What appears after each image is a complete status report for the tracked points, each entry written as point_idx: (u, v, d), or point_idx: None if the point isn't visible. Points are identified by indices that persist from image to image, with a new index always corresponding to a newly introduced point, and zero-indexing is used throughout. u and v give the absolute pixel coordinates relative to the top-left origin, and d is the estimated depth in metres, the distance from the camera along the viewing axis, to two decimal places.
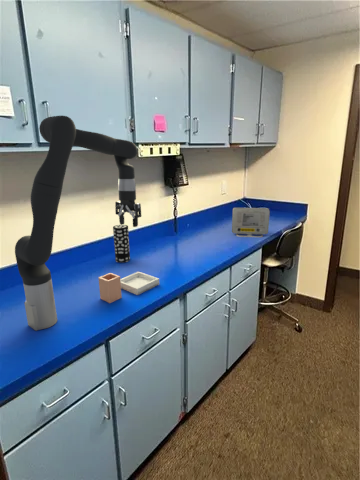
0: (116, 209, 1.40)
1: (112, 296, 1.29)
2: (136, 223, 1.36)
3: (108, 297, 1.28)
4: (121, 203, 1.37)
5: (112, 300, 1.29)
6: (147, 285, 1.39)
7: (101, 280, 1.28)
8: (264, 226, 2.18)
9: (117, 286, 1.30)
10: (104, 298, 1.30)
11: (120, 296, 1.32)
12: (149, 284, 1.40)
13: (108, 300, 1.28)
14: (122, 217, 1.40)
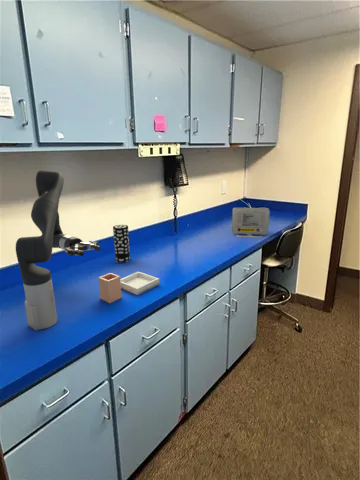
0: (69, 249, 1.33)
1: (112, 296, 1.29)
2: None
3: (108, 297, 1.28)
4: (72, 246, 1.37)
5: (112, 300, 1.29)
6: (147, 285, 1.39)
7: (101, 280, 1.28)
8: (264, 226, 2.18)
9: (117, 286, 1.30)
10: (104, 298, 1.30)
11: (120, 296, 1.32)
12: (149, 284, 1.40)
13: (108, 300, 1.28)
14: None
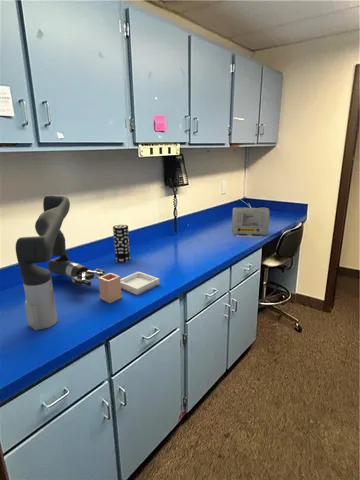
0: (76, 279, 1.34)
1: (112, 296, 1.29)
2: None
3: (108, 297, 1.28)
4: (79, 274, 1.39)
5: (112, 300, 1.29)
6: (147, 285, 1.39)
7: (101, 280, 1.28)
8: (264, 226, 2.18)
9: (117, 286, 1.30)
10: (104, 298, 1.30)
11: (120, 296, 1.32)
12: (149, 284, 1.40)
13: (108, 300, 1.28)
14: None
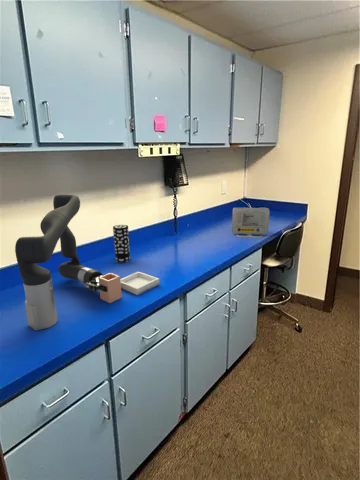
0: (91, 284, 1.29)
1: (112, 296, 1.29)
2: None
3: (108, 297, 1.28)
4: (92, 280, 1.33)
5: (112, 300, 1.29)
6: (147, 285, 1.39)
7: (101, 280, 1.28)
8: (264, 226, 2.18)
9: (117, 286, 1.30)
10: (104, 298, 1.30)
11: (120, 296, 1.32)
12: (149, 284, 1.40)
13: (108, 300, 1.28)
14: None
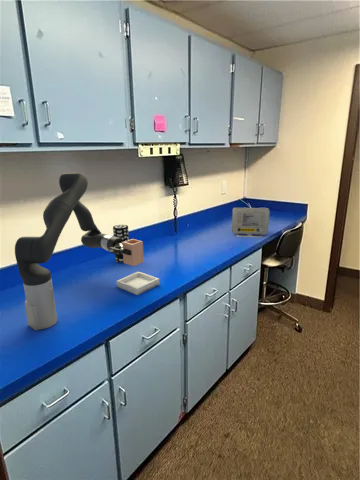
0: (116, 248, 1.36)
1: (135, 260, 1.36)
2: None
3: (132, 260, 1.35)
4: (116, 245, 1.40)
5: (135, 263, 1.36)
6: (147, 285, 1.39)
7: (125, 244, 1.35)
8: (264, 226, 2.18)
9: (140, 250, 1.37)
10: (127, 262, 1.37)
11: (142, 260, 1.40)
12: (149, 284, 1.40)
13: (131, 263, 1.36)
14: None
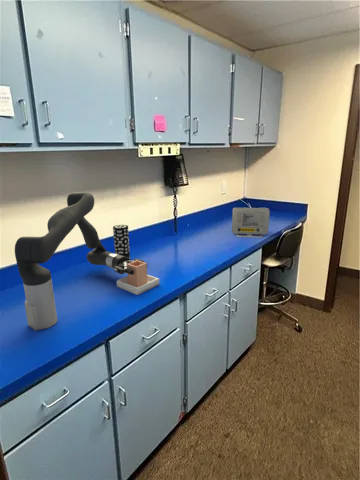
0: (119, 268, 1.40)
1: (140, 281, 1.40)
2: None
3: (136, 282, 1.39)
4: (121, 264, 1.44)
5: (139, 285, 1.40)
6: (147, 285, 1.39)
7: (129, 266, 1.40)
8: (264, 226, 2.18)
9: (144, 272, 1.41)
10: (132, 283, 1.41)
11: (146, 281, 1.44)
12: (149, 284, 1.40)
13: (136, 285, 1.40)
14: None
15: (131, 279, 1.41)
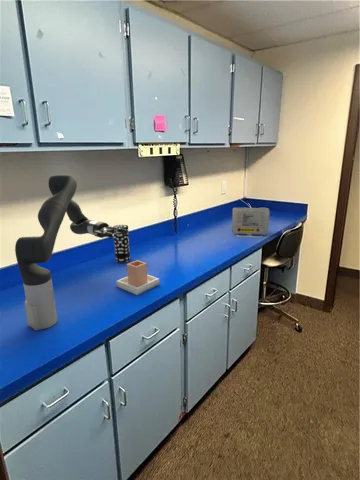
0: (99, 231, 1.43)
1: (140, 281, 1.40)
2: None
3: (136, 282, 1.39)
4: (101, 229, 1.48)
5: (139, 285, 1.40)
6: (147, 285, 1.39)
7: (129, 266, 1.40)
8: (264, 226, 2.18)
9: (144, 272, 1.41)
10: (132, 283, 1.41)
11: (146, 281, 1.44)
12: (149, 284, 1.40)
13: (136, 285, 1.40)
14: None
15: (131, 279, 1.41)
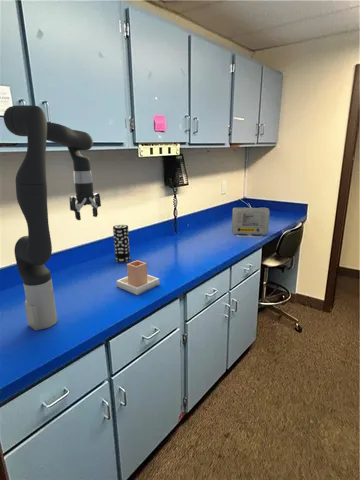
0: (74, 205, 1.30)
1: (140, 281, 1.40)
2: None
3: (136, 282, 1.39)
4: (80, 197, 1.31)
5: (139, 285, 1.40)
6: (147, 285, 1.39)
7: (129, 266, 1.40)
8: (264, 226, 2.18)
9: (144, 272, 1.41)
10: (132, 283, 1.41)
11: (146, 281, 1.44)
12: (149, 284, 1.40)
13: (136, 285, 1.40)
14: None
15: (131, 279, 1.41)
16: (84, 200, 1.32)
